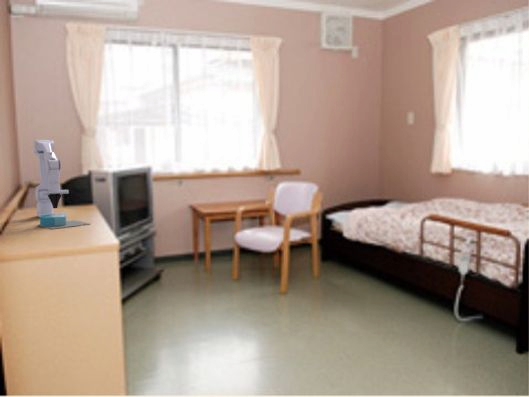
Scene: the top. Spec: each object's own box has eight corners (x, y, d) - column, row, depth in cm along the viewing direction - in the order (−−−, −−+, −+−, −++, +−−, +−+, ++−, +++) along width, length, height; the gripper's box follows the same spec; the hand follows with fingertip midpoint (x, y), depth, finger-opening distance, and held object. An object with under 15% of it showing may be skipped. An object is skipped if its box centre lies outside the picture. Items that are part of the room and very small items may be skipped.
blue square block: (66, 213, 248) (65, 216, 237) (66, 221, 248) (66, 225, 237) (41, 214, 243) (39, 217, 232) (41, 222, 244) (40, 226, 233)
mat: (37, 225, 238) (37, 224, 238) (75, 220, 253) (75, 220, 253) (52, 229, 228) (52, 228, 228) (90, 224, 243) (90, 223, 243)
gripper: (43, 183, 237) (44, 210, 238) (70, 182, 247) (71, 207, 249) (37, 182, 241) (38, 208, 243) (64, 181, 252) (65, 206, 254)
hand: (55, 208), depth 246 cm, fingers closed
